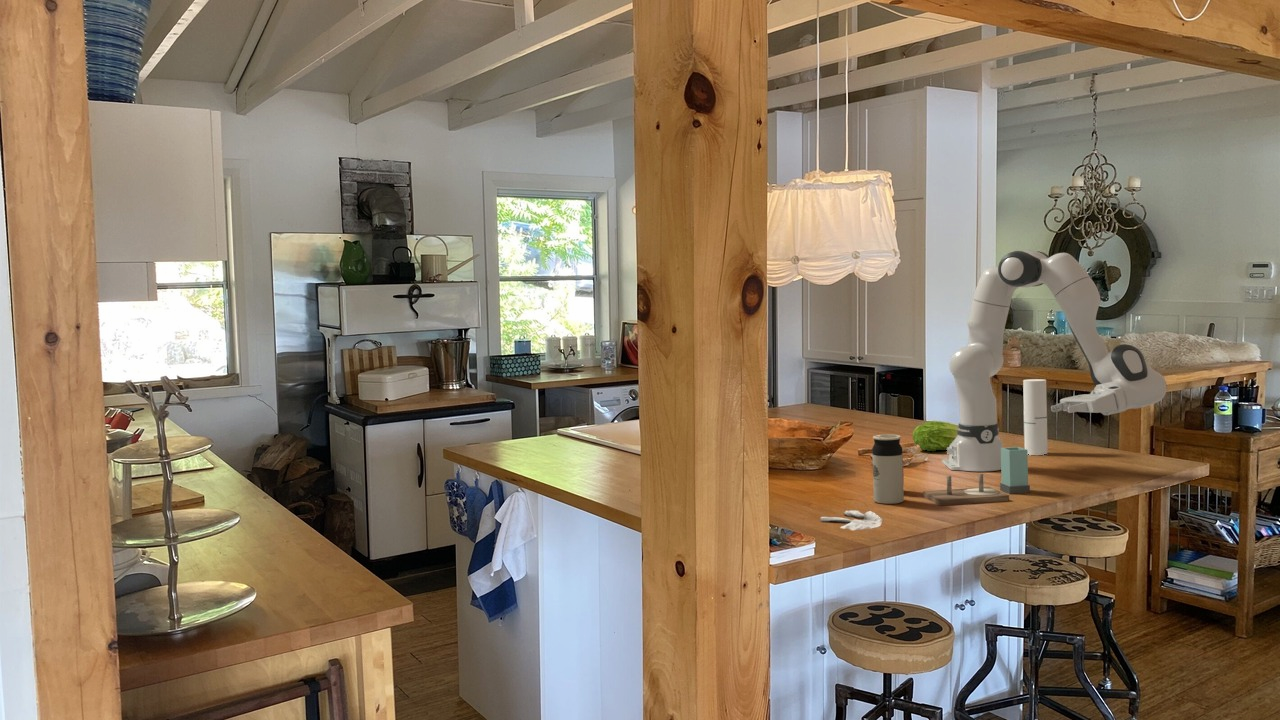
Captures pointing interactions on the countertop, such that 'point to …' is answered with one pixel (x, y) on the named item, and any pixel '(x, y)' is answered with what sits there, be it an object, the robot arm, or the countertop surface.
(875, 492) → the travel mug
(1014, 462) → the teal sleeve
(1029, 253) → the robot arm
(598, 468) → the countertop surface
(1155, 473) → the countertop surface
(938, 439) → the lettuce
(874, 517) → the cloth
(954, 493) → the pin board
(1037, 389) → the cylindrical container
